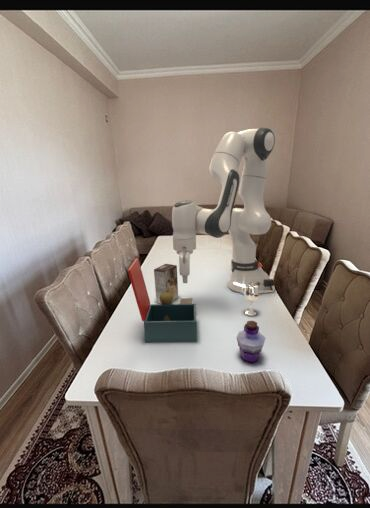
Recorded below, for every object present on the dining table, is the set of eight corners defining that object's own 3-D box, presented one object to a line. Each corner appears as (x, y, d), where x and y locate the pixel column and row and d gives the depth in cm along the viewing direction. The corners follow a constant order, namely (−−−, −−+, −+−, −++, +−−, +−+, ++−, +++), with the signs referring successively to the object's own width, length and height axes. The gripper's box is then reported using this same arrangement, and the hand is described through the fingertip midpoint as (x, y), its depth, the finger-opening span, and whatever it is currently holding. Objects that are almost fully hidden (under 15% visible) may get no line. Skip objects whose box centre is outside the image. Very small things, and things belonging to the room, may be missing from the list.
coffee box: (167, 294, 120) (165, 263, 116) (178, 297, 117) (177, 265, 112) (155, 302, 113) (153, 269, 108) (167, 305, 110) (165, 271, 105)
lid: (138, 257, 90) (135, 258, 90) (129, 270, 78) (127, 270, 78) (150, 303, 95) (148, 303, 95) (144, 321, 83) (142, 321, 83)
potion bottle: (246, 344, 83) (248, 312, 79) (270, 357, 77) (273, 323, 73) (229, 356, 78) (230, 322, 74) (253, 371, 71) (255, 335, 68)
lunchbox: (196, 321, 97) (195, 303, 95) (196, 341, 85) (196, 321, 83) (150, 322, 97) (149, 304, 95) (145, 342, 85) (143, 322, 83)
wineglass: (259, 316, 99) (261, 288, 95) (245, 316, 99) (246, 289, 95) (255, 309, 104) (257, 282, 101) (241, 309, 104) (243, 283, 101)
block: (192, 308, 107) (192, 298, 105) (192, 314, 102) (192, 303, 100) (180, 308, 107) (180, 298, 105) (180, 314, 102) (179, 303, 101)
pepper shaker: (173, 324, 95) (171, 298, 92) (157, 322, 97) (156, 296, 93) (176, 315, 101) (175, 291, 98) (162, 314, 102) (160, 290, 99)
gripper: (193, 251, 86) (193, 288, 90) (192, 238, 105) (193, 269, 109) (174, 252, 86) (176, 288, 90) (177, 238, 105) (178, 269, 109)
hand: (185, 277), depth 100 cm, fingers open, 8 cm apart
